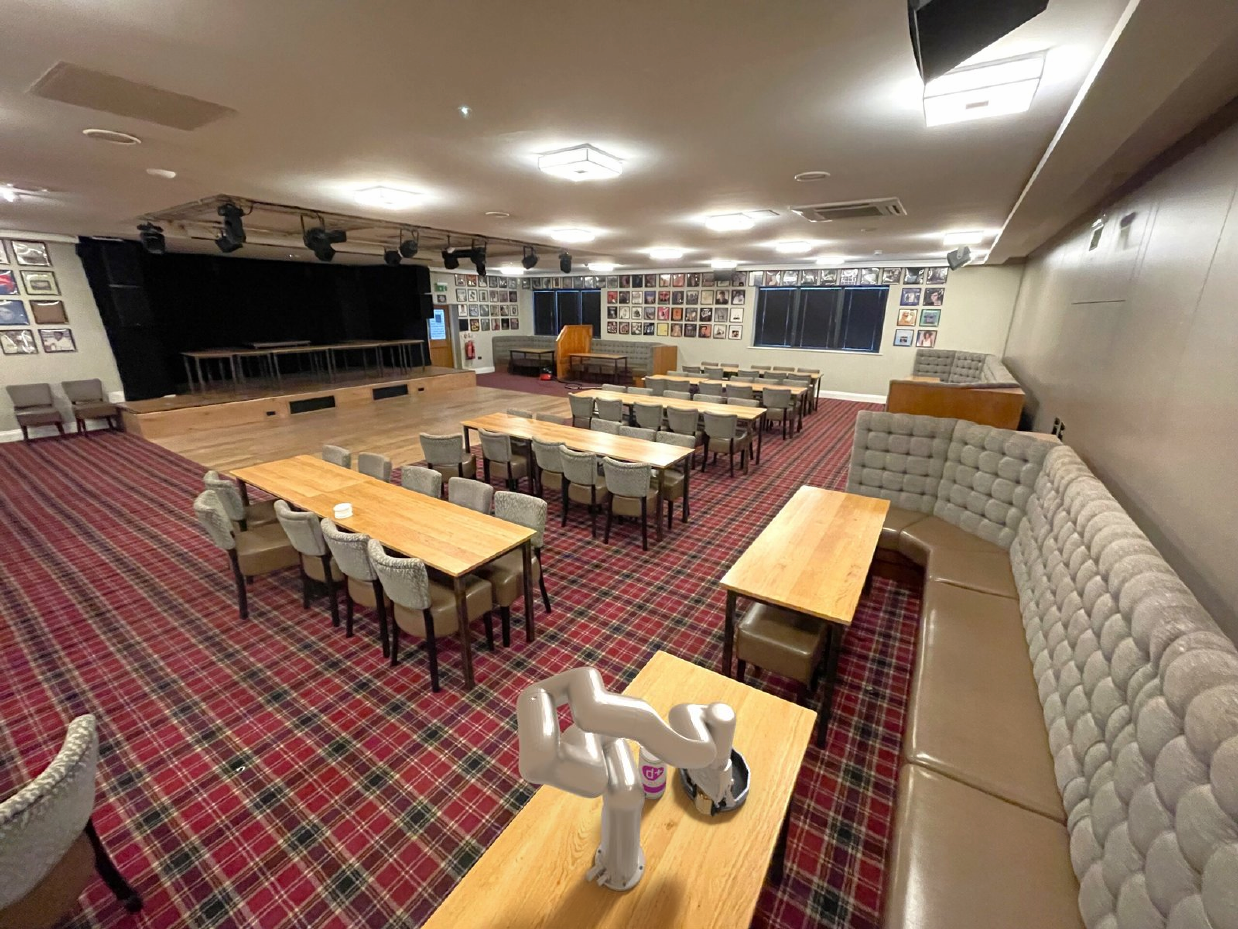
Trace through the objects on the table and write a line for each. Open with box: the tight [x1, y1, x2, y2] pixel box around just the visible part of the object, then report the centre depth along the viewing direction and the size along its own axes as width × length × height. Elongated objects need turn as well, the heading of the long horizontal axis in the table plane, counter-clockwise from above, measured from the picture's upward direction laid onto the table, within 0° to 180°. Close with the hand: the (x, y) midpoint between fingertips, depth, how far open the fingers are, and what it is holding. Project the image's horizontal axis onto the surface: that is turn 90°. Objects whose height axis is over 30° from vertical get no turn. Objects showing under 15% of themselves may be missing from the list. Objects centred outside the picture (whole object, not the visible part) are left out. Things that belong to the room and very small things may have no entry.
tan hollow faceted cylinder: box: [694, 785, 714, 816], centre depth 124 cm, size 5×5×5 cm
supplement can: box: [637, 746, 669, 800], centre depth 140 cm, size 8×8×15 cm
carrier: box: [678, 746, 752, 813], centre depth 145 cm, size 20×20×6 cm
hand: (705, 802), depth 125 cm, fingers closed on tan hollow faceted cylinder, 5 cm apart
